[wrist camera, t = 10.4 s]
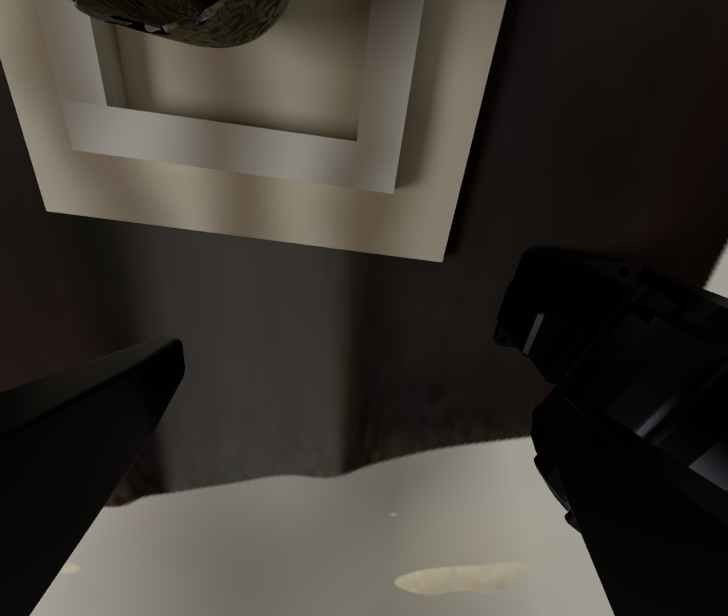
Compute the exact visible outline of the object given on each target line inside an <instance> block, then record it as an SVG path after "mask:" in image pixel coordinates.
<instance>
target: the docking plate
mask: <svg viewBox="0 0 728 616" xmlns="http://www.w3.org/2000/svg"><path fill="white" fill-rule="evenodd" d="M505 4H506V0H290V1H289V3H288V5H287V7H286V9H285V10H284V12H283V13H282V15H281V16H280V18H279V19H278V20H277V22H276V23H275V24H274V25H273V26H272V27H271V28H270V29H269V30H268V31H267V32H266V33H265V34H263V35H262V36H260V37H259V38H257V39H255V40H253V41H251V42H249V43H246V44H243V45H240V46H236V47H230V48H208V47H200V46H194V45H190V44H186V43H182V42H178V41H174V40H170V39H166V38H162V37H159V36H155V35H151V34H148V33H144V32H141V31H137V30H134V29H131V28H128V27H124V26H121V25H117V24H110V23H105V22H102V21H99V20H97V19H95V18H93V17H90V16H88V15H86V14H84V13H82V12H81V11H79V10H78V9H77V8H76V7H75V6H74V2H73V1H71V0H0V58H1V61H2V65H3V68H4V71H5V75H6V78H7V81H8V85H9V88H10V91H11V95H12V98H13V101H14V105H15V108H16V111H17V114H18V118H19V121H20V124H21V128H22V131H23V134H24V138H25V141H26V144H27V148H28V151H29V154H30V158H31V161H32V164H33V168H34V171H35V174H36V178H37V181H38V184H39V188H40V191H41V194H42V197H43V201H44V204H45V207H46V211H51V212H58V213H66V214H74V215H82V216H89V217H97V218H105V219H112V220H120V221H128V222H136V223H143V224H151V225H159V226H166V227H174V228H182V229H190V230H197V231H205V232H213V233H220V234H228V235H236V236H243V237H251V238H259V239H267V240H274V241H282V242H290V243H297V244H305V245H313V246H321V247H328V248H336V249H344V250H351V251H359V252H367V253H375V254H382V255H390V256H398V257H405V258H413V259H421V260H429V261H436V262H442V261H443V257H444V253H445V249H446V245H447V241H448V236H449V232H450V228H451V224H452V220H453V216H454V212H455V208H456V204H457V200H458V196H459V192H460V188H461V183H462V179H463V175H464V171H465V167H466V163H467V159H468V155H469V151H470V147H471V143H472V139H473V135H474V131H475V126H476V122H477V118H478V114H479V110H480V106H481V102H482V98H483V94H484V90H485V86H486V82H487V78H488V73H489V69H490V65H491V61H492V57H493V53H494V49H495V45H496V41H497V37H498V33H499V29H500V25H501V20H502V16H503V12H504V8H505Z"/></svg>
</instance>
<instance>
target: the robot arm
mask: <svg viewBox="0 0 728 616" xmlns="http://www.w3.org/2000/svg"><path fill="white" fill-rule="evenodd" d="M532 255H535V257H534V259H533V260H532V261H529V258H530V256H532ZM624 267H625V268H624ZM622 268H624V270H623V272H621V273H620V271H621V269H622ZM633 270H634V267H633V265H632V264H630V263H628V262H625V261H620V260H613V259H605V258H598V257H590V256H582V255H575V254H567V253H560V252H552V251H545V250H537V249H529V250H527V251H525V252H524V253H523V255H522V257H521V260H520V263H519V265H518V268H517V271H516V274H515V277H514V279H513V281H512V282H511V283H510V284H509V285H508V288H507V291H506V294H505V297H504V300H503V302H502V305H501V308H500V311H499V314H498V317H497V319H498V321H499V322H498V324H497V327H496V330H495V333H494V336H493V338H494V341H495V342H496V344H497V345H500V346H506V347H515V348H518V349H519V350H520V352H521V353H522V355H523V356H524V357H529V358H530V359H531V361H532V362H533V363H534V365H535V366H536V367H537V369H538V370H539V372H540V373H541V374H542V376H543V377H544V378H545V380H546V381H547V382H549V383H555V384H556V386H555V387H554V388H553V390H552V391H551V392H550V393H549V395H548V396H547V397H546V399H545V400H544V401H543V403H542V404H541V405H537V407H536V408H535V409H534V411H533V412H532V418H533V422H532V428H531V437H532V440H533V444H534V447H535V450H536V453H537V456H536V457H535V458H534V462H535V465H536V468H537V469H538V471H539V473H540V474H541V476H542V477H543V479H544V480H545V482H546V484H547V485H548V487H549V489H550V490H551V492H552V493H553V495H554V496H555V497H556V499H557V500H558V501H559V502H560V503H561V505H562V506H563V507H564V508H565V509H566V510H567V511H568V513H567V514H566V515H565V519H566V521H567V522H568V524H570V525H571V526H572V527H573V528H574V529H576V530H577V531H578V532H580V533H581V534H582V537H583V540H584V542H585V544H586V547H587V549H588V552H589V554H590V557H591V559H592V562H593V564H594V566H595V569H596V571H597V574H598V576H599V579H600V581H601V583H602V586H603V588H604V591H605V593H606V596H607V598H608V600H609V603H610V605H611V608H612V610H613V613H614V615H615V616H728V298H726V297H723V296H720V295H718V294H715V293H713V292H710V291H707V290H704V289H702V288H699V287H696V286H694V285H691V284H688V283H686V282H683V281H680V280H678V279H675V278H672V277H670V276H667V275H664V274H662V273H659V272H656V271H654V270H651V269H648V268H646V267H644V268H643V269H642V270H641V272H640V273H639V274H638V275H637V277H636V279H638V280H637V281H636V283H635V284H634V285H633V286H632V288H631V289H630V288H628V287H626V284H627V282H628V281H629V279H630V277H631V275H632V273H633ZM502 336H505V337H504V338H503V339H500V337H502ZM184 372H185V363H184V354H183V346H182V342H181V341H180V340H179V339H177V338H171V337H164V336H162V337H157V338H155V339H152V340H149V341H146V342H143V343H140V344H138V345H135V346H132V347H129V348H126V349H123V350H121V351H118V352H115V353H112V354H109V355H106V356H104V357H101V358H98V359H95V360H92V361H89V362H87V363H84V364H81V365H78V366H75V367H72V368H70V369H67V370H64V371H61V372H58V373H55V374H53V375H50V376H47V377H44V378H41V379H38V380H36V381H33V382H30V383H27V384H24V385H21V386H19V387H16V388H13V389H10V390H7V391H4V392H2V393H0V616H29V615H30V614H31V613H32V611H33V609H34V608H35V606H36V605H37V604H38V602H39V601H40V599H41V598H42V596H43V595H44V593H45V592H46V590H47V589H48V588H49V586H50V585H51V583H52V582H53V580H54V579H55V577H56V576H57V574H58V573H59V571H60V570H61V568H62V567H63V565H64V564H65V563H66V561H67V560H68V558H69V557H70V555H71V554H72V552H73V550H74V549H75V548H76V546H77V545H78V543H79V542H80V541H81V539H82V538H83V536H84V534H85V533H86V532H87V530H88V529H89V527H90V526H91V524H92V523H93V521H94V520H95V518H96V517H97V516H98V514H99V513H100V511H101V509H102V508H103V507H104V505H105V504H106V502H107V501H108V499H109V498H110V496H111V495H112V493H113V492H114V491H115V489H116V488H117V486H118V485H119V483H120V482H121V480H122V479H123V477H124V476H125V474H126V473H127V471H128V470H129V468H130V467H131V466H132V464H133V463H134V461H135V460H136V458H137V457H138V455H139V454H140V452H141V451H142V449H143V448H144V446H145V445H146V443H147V442H148V440H149V439H150V437H151V435H152V434H153V432H154V430H155V429H156V427H157V425H158V423H159V421H160V419H161V418H162V416H163V414H164V412H165V410H166V408H167V406H168V404H169V403H170V401H171V399H172V397H173V395H174V393H175V391H176V390H177V388H178V386H179V384H180V382H181V380H182V378H183V376H184Z"/></svg>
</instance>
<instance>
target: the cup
mask: <svg viewBox="0 0 728 616" xmlns="http://www.w3.org/2000/svg"><path fill="white" fill-rule="evenodd" d="M71 1H73V2H74V6H75V7H76V8H77V9H78V10H79V11H81V12H82V13H84V14H86V15H88V16H90V17H93V18H95V19H97V20H99V21H102V22H105V23H110V24H117V25H121V26H124V27H128V28H131V29H134V30H137V31H141V32H144V33H148V34H151V35H155V36H159V37H162V38H166V39H170V40H174V41H178V42H182V43H186V44H190V45H194V46H200V47H208V48H230V47H236V46H240V45H243V44H246V43H249V42H251V41H253V40H255V39H257V38H259V37H260V36H262V35H263V34H265V33H266V32H267V31H268V30H269V29H270V28H271V27H272V26H273V25H274V24H275V23H276V22H277V20H278V19H279V18H280V16H281V15H282V13H283V12H284V10H285V9H286V7H287V5H288V3H289V1H290V0H71Z"/></svg>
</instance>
